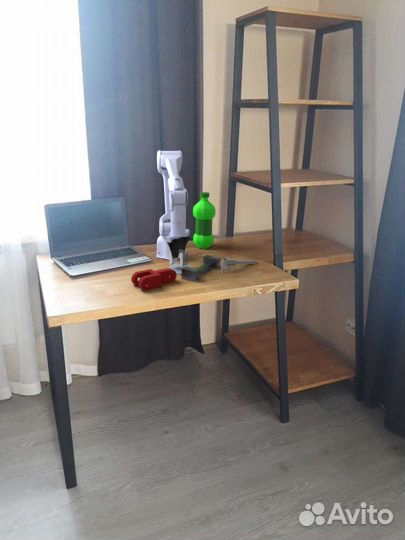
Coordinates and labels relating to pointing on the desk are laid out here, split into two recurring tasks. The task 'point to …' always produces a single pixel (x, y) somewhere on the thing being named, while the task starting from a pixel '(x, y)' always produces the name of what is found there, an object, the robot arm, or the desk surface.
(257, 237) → the desk surface
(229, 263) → the caliper
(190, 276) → the vise
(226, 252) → the desk surface
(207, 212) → the plastic bottle
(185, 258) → the white block
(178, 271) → the mat
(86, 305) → the desk surface
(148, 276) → the mechanical linkage
